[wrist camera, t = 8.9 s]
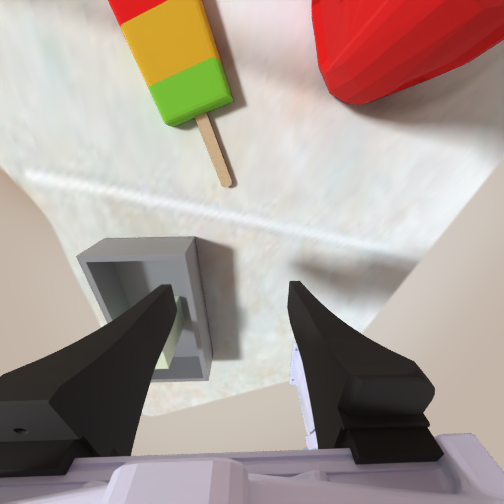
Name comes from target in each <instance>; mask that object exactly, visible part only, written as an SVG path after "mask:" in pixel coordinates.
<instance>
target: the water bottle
mask: <svg viewBox="0 0 504 504" xmlns="http://www.w3.org/2000/svg"><path fill="white" fill-rule="evenodd" d="M312 22H313V29H314V35H315V42H316V50H317V58H318V66H319V69H320V72H321V74H322V76H323V79H324V81H325V83H326V86H327V88H328V90H329V93H330V94H331V95H333V96H335V97H336V98H338V99H340V100H341V101H343V102H345V103H350V104H356V105H360V104H365V103H369V102H372V101H374V100H377V99H380V98H382V97H385V96H388V95H390V94H393V93H395V92H398V91H401V90H403V89H406V88H408V87H411V86H414V85H416V84H419V83H421V82H424V81H427V80H429V79H432V78H434V77H436V76H439V75H441V74H443V73H446V72H448V71H450V70H453V69H455V68H457V67H460V66H462V65H464V64H466V63H468V62H470V61H472V60H473V59H475V58H476V57H478V56H479V55H481V54H482V53H484V52H485V51H487V50H488V49H490V48H492V47H493V46H495V45H496V44H498V43H499V42H501V41H502V40H504V0H312Z"/></svg>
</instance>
